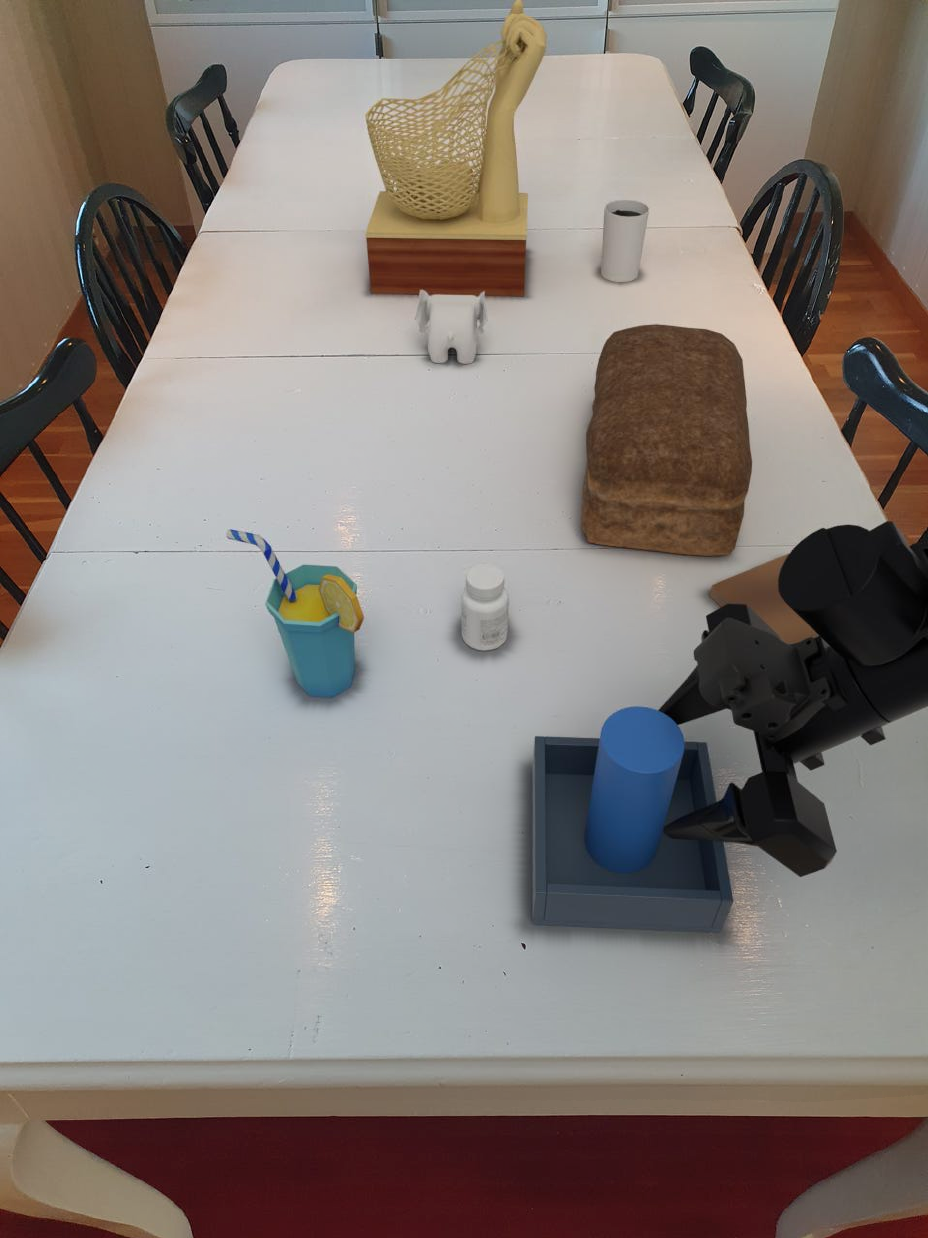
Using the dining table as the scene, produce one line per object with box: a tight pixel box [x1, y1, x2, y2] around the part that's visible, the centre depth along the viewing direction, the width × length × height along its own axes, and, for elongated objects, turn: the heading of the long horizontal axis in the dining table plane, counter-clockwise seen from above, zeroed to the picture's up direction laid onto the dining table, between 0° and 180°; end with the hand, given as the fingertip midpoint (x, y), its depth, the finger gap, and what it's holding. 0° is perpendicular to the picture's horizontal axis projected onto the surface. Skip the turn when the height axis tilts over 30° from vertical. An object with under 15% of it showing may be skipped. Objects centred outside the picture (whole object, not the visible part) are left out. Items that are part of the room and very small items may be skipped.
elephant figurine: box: [414, 290, 489, 365], centre depth 122 cm, size 10×12×9 cm
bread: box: [580, 323, 753, 557], centre depth 100 cm, size 17×30×13 cm, turn 170°
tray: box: [531, 735, 734, 934], centre depth 69 cm, size 14×14×5 cm
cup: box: [225, 528, 365, 699], centre depth 78 cm, size 14×8×15 cm, turn 62°
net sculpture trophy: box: [364, 0, 548, 297], centre depth 130 cm, size 25×18×35 cm
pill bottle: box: [460, 563, 510, 651], centre depth 84 cm, size 4×4×8 cm
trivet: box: [709, 552, 819, 644], centre depth 88 cm, size 10×10×2 cm
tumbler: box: [585, 706, 686, 873], centre depth 65 cm, size 6×6×13 cm
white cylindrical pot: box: [600, 199, 650, 283], centre depth 138 cm, size 7×7×10 cm
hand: (659, 776), depth 64 cm, fingers open, 9 cm apart
